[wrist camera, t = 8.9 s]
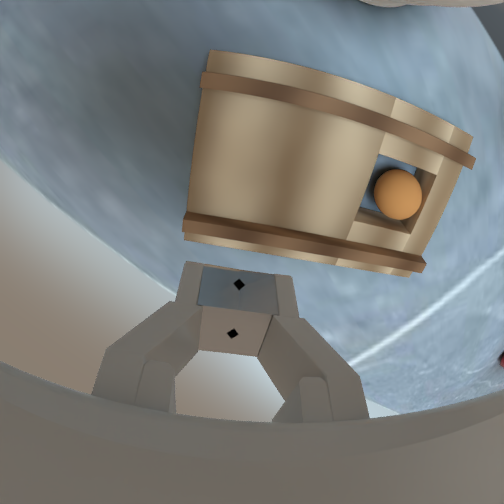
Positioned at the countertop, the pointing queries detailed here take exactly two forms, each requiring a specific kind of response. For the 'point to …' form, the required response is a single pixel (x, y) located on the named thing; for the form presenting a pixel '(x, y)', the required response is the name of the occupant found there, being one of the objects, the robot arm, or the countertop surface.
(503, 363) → the liquor
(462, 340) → the countertop surface
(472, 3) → the jar
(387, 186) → the ball
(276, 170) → the lane board
